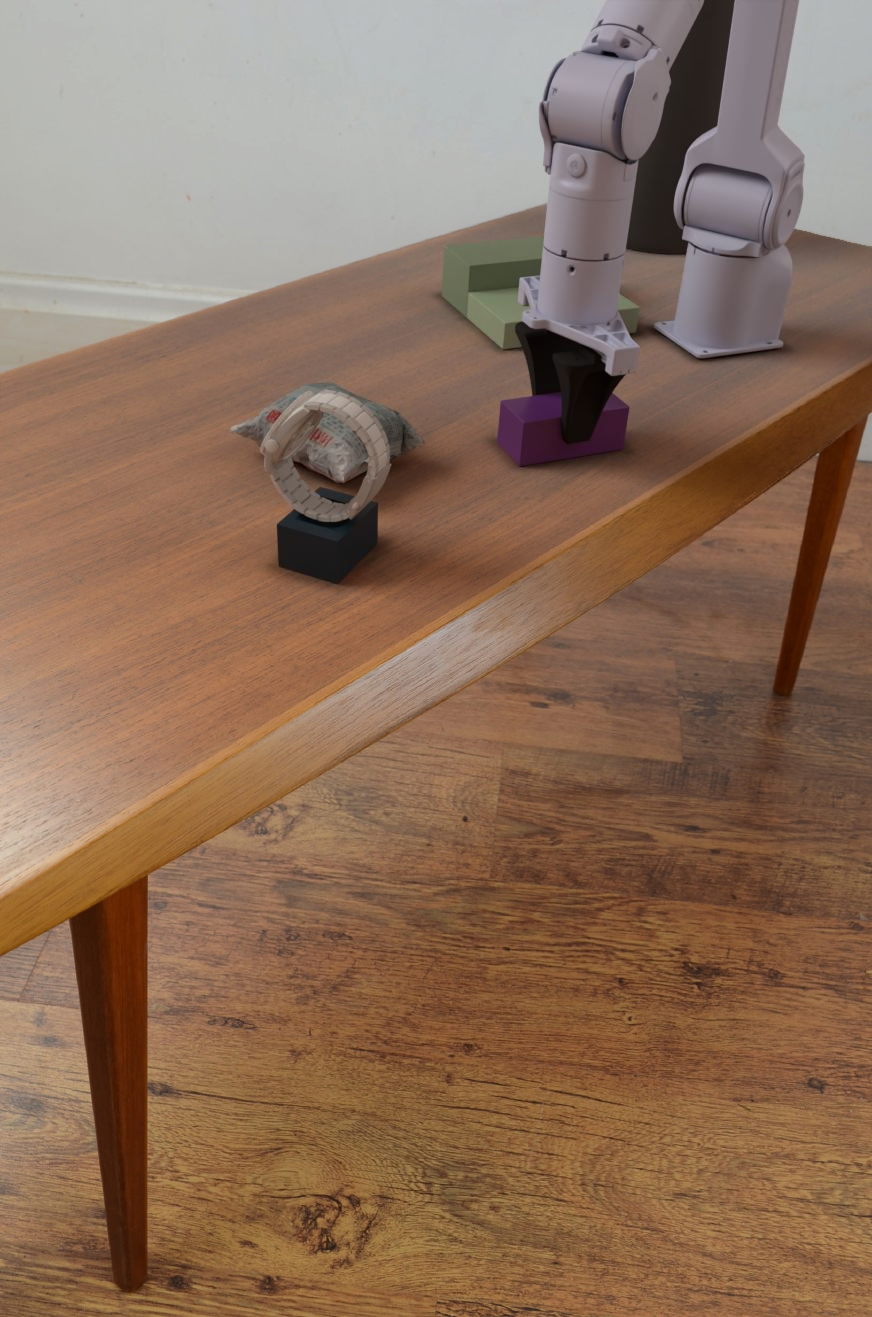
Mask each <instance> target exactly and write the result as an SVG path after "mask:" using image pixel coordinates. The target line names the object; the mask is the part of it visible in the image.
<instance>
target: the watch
mask: <svg viewBox="0 0 872 1317" xmlns="http://www.w3.org/2000/svg"><path fill="white" fill-rule="evenodd" d="M324 412H326V413H329V414H332V413H333V415H334V416H336V417H337V418H339V419H341V420H342V421H345V420H346V421H345V422H346V424H347V425H348V426H349V427H351V428H352V429H353V430H354V431H357V432H356V433H357V435H358V436H359V437H360V439H361V440H362V442H364V443H366V442H367V443H366V444H365V447H366V449H367V451H368V454H369V456H371V457H370V463H369V464H368V471H366V475H365V477H363V480H362V483H361V486H360V487H359V490H358V492H357V494H356V495H352V494H348V493H345V492H341V491H339V490H338V491H337V490H334V489H330V488H326V487H322V486H319V487H317V488H316V489H315V490H313V489H310V486H309V485H308V484H307V483H306V482H305V480H304V479H302V478H301V475H300V473H299V472H298V470H297V468H296V467H295V466H294V465H295V464H294V461H292V459H291V457H294V456H295V455H296V453H297V451H298V450H299V449H300V448H301V446H302V445H303V444H304V443H305V442H306V441H307V439H308V438H309V437H310V436H311V434H312V433H313V432H314V430H315V429H316V427H317V426H318V424H319V423H320V421H321V419H322V417H323V414H324ZM358 415H359V416H358ZM357 416H358V417H357ZM373 416H374V414H373V413H372V412H371V411H370V410H369V409H368V408H367V407H366V406H365V405H363V404H362V403H361V402H360V401H359V400H357V399H355V398H354V397H350V395H347V394H345V393H342V392H338V393H337V391H333V390H327V389H326V390H323V391H321V392H319V393H318V394H316V395H315V396H314V393H313V392H311V391H307V392H305V393H303V394H302V395H300V396H299V397H298V398H297V399H296V400H294V401H293V402H292V403H291V404H290V405H289V406H288V407H287V409H286V410H285V411H284V412H283V413H282V414H281V415H280V417H279V418H278V419H277V420H276V422H275V423H274V424H273V426H272V427H271V429H270V430H269V432H268V433H267V435H266V436H265V438H264V440H263V442H262V444H261V447H259V453H260V454H261V455H262V456H264V460H263V464H264V466H263V467H264V471H265V473H266V474H268V476H269V479H270V480H271V482H272V485H273V486H274V488H275V490H276V491H277V492H278V494H279V495H281V498H282V499H283V500H284V501H285V502H286V503H287V504H288V505H289V506H291V508H293V509H292V510H291V511H290V512H289V513H288V514H286V515H285V516H284V517H283V518H282V519H281V520H280V521H278V522H277V523H276V537H277V539H276V540H277V562H278V564H277V565H278V567H280V568H283V569H286V570H288V571H289V570H290V571H293V572H296V573H299V574H303V575H307V576H310V577H313V578H316V579H319V580H323V581H325V582H329V583H333V584H336V585H339V584H340V583H341V582H342V580H344V579H345V578H346V577H347V576H348V574H349V573H350V572H352V571H353V570H354V568H355V567H356V566H358V564H359V563H361V561H362V560H363V559H364V558H365V557H366V556H367V555H368V554H369V553H370V552H371V551H372V550H373V549H374V548H375V547H376V546H377V545H378V543H379V542H378V540H379V538H378V537H379V528H378V527H379V502H378V501H374V500H373V499H374V498H375V497H376V496H377V495H378V494H379V492H380V490H381V489H382V488H383V486H384V484H385V482H386V481H387V478H388V475H389V472H390V470H391V467H392V463H390V462H391V461H390V456H389V455H390V448H389V444H387V443H388V439H387V436H386V434H385V431H384V430H383V428H382V426H381V424H380V422H379V421H378V419H377V418H376V417H375V416H374V417H373ZM372 417H373V418H372ZM371 418H372V419H371ZM371 425H372V426H371ZM369 426H370V427H369ZM368 427H369V428H368ZM367 428H368V429H367ZM358 429H359V430H358ZM366 429H367V430H366ZM365 430H366V431H365Z"/></svg>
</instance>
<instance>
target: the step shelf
mask: <svg viewBox="0 0 872 1317" xmlns="http://www.w3.org/2000/svg"><path fill="white" fill-rule="evenodd" d="M543 242H544V235H543V236H534V237H523V238H512V239H511V238H510V239H499V240H489V241H479V242H478V241H477V242H468V243H467V242H466V243H456V244H446V245H444V246H443V262H442V263H443V264H442V280H441V281H442V285H441V297H442V298H443V299H444V300H446V301H447V302H448V303H449V304H450V305H451V306H452V307H454V308H455V309H456V310H457V311H458V312H459V313H460V314H462V315H463V316H464V317H465V318H466V319H467V320H468V321H470V322H471V323H472V324H473V325H474V326H475V327H476V328H478V329H479V330H480V331H481V333H483V334H484V335H485V336H487V337H488V338H489V339H490V340H492V342H493V343H494V344H496V345H497V346H498V347H500V349H501V350H508V349H510V350H511V349H519V348H522V346H521V344H520V341H519V339H518V337H517V335H516V333H515V325H516V324H517V323H519V322H522V313H523V311H525V310H531V309H530V306H522V305H521V304H520V303H518V291H519V280H520V278H521V277H531V276H540V272H541V262H542V253H543ZM640 308H641V306H639V305H637V304H636V303H634V302H633V301H631V300H630V299H628V298H627V297H626V296H624V295H623V294H621V293H619V299H618V306H617V310H618V312H619V314H620V316H621V318H622V320H623V322H624V324H625V326H626V328H627V331H628V333H629V335H630V334H636V333H637V330H638V329H637V328H638V323H639V322H638V321H639V314H640V310H641V309H640Z"/></svg>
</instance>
